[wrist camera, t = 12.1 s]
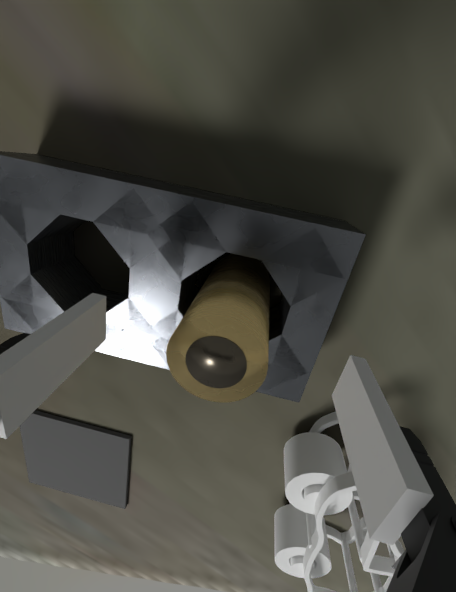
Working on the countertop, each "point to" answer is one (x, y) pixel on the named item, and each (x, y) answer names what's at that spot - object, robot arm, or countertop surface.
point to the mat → (77, 458)
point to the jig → (164, 259)
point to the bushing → (224, 333)
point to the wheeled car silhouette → (323, 513)
